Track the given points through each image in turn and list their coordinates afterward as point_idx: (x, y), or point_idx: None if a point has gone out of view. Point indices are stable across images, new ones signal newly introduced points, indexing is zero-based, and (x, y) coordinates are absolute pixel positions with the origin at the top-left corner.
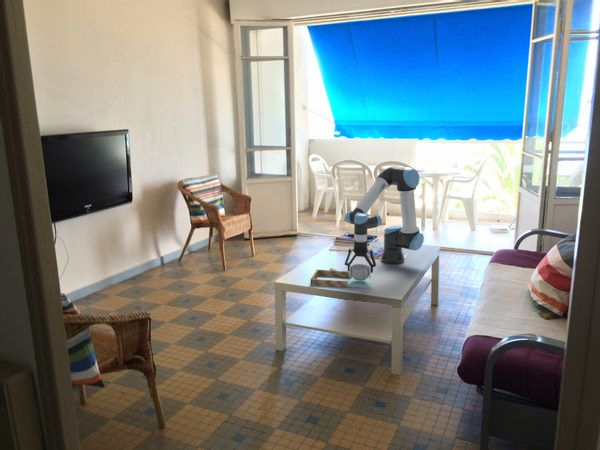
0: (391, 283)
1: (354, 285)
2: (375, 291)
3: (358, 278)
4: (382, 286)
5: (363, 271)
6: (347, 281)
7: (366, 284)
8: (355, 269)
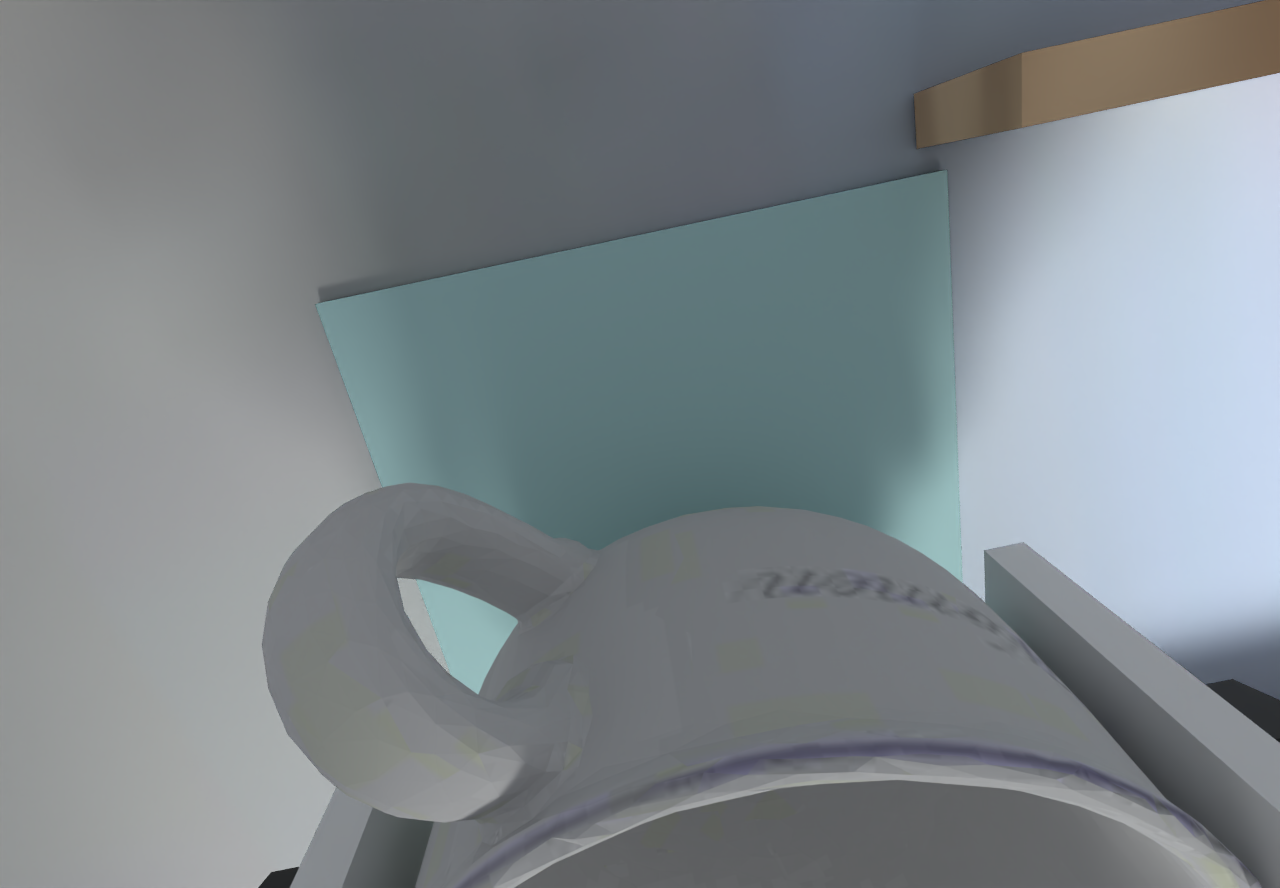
0: (38, 788)
1: (763, 313)
2: (27, 73)
3: (718, 509)
4: (97, 545)
5: (515, 699)
6: (1028, 67)
7: (499, 506)
8: (990, 724)
